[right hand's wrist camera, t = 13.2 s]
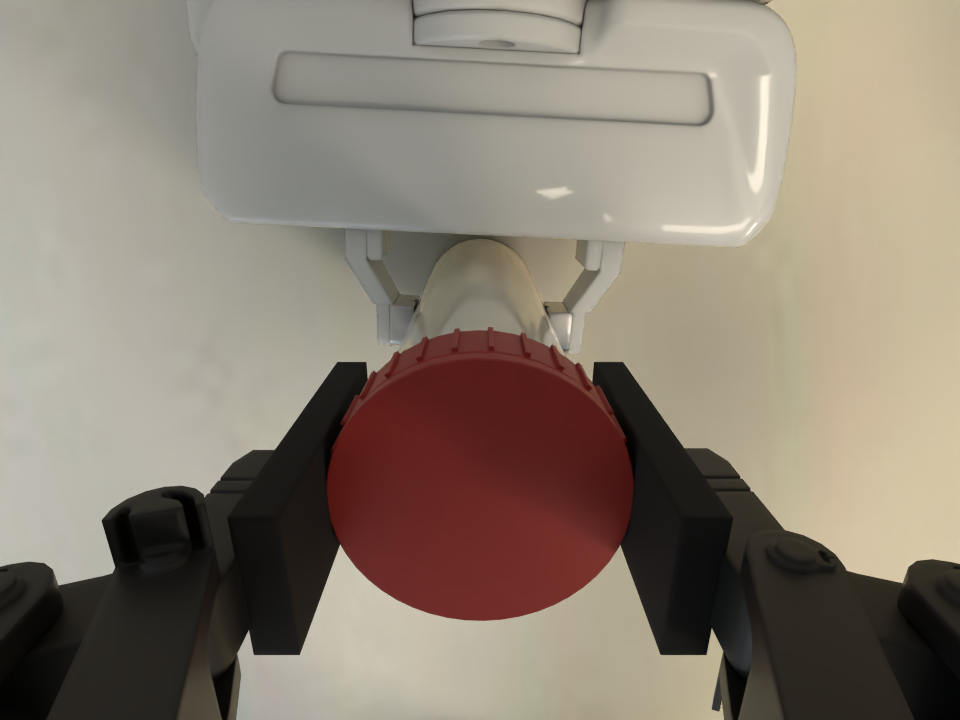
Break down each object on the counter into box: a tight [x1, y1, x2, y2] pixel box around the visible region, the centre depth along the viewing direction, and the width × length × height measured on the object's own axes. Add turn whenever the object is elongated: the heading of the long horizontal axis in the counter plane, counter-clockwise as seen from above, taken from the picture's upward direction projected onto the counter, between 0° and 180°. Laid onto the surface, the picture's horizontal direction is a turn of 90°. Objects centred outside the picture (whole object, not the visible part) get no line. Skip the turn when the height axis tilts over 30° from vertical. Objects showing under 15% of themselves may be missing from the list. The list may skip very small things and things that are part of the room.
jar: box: [398, 239, 566, 357], centre depth 19 cm, size 5×5×18 cm
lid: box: [326, 327, 634, 621], centre depth 11 cm, size 6×6×2 cm
